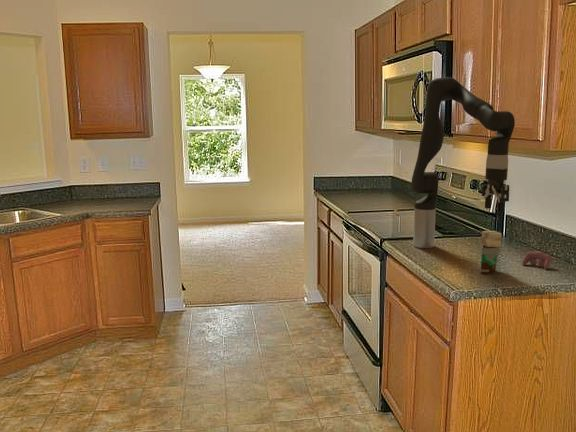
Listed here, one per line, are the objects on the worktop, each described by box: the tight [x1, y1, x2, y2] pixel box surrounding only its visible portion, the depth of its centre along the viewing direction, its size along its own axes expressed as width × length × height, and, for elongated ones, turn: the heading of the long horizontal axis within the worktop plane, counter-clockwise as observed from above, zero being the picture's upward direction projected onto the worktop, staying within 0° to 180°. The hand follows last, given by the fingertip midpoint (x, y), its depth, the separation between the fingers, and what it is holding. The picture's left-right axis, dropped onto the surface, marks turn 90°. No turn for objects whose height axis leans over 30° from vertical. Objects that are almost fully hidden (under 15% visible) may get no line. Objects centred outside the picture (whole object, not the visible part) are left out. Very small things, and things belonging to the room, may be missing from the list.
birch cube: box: [481, 230, 503, 248], centre depth 209 cm, size 5×5×5 cm
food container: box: [480, 245, 501, 275], centre depth 210 cm, size 12×6×10 cm, turn 158°
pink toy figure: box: [521, 250, 553, 270], centre depth 217 cm, size 10×5×7 cm, turn 45°
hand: (494, 210), depth 207 cm, fingers open, 8 cm apart
